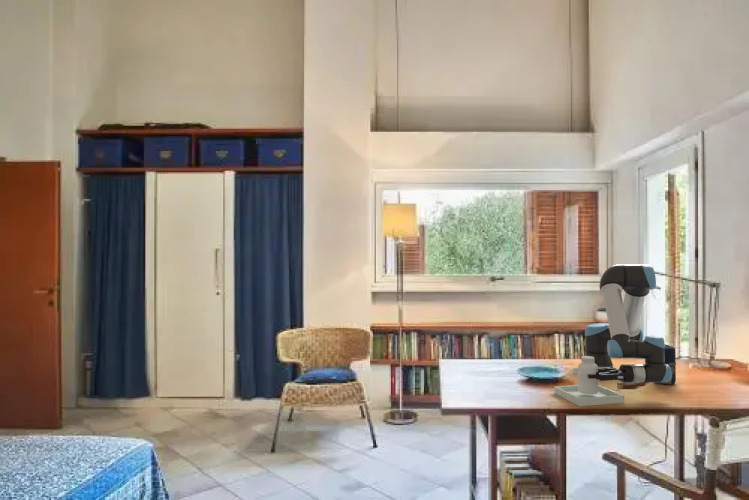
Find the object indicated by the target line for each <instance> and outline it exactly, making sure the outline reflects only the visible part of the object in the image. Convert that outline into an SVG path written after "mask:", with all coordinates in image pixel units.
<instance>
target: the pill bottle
mask: <svg viewBox="0 0 749 500" xmlns="http://www.w3.org/2000/svg"><path fill="white" fill-rule="evenodd" d="M580 361H581V362H579V363H578V365H577V368H578V374H577V385H578V391H579V392H580V393H583V394H597V393H598V385H599V380H597V379H579V372H595V373H596V371H597V372H598V366H597V365H596V364H595V363H594V362H595V360H594V357H592V356H585V355H582V356H581V357H580Z"/></svg>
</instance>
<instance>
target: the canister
mask: <svg viewBox="0 0 749 500" xmlns="http://www.w3.org/2000/svg"><path fill="white" fill-rule="evenodd" d="M665 364H667V365H669V366H670V368H671V372H672V378H671V380H670V381H669V382H663V383H661V385H662V384H664V385H673V384H675V383H676V381H677V372H676V365H677V359H676V347H674V346H672V345H669V344H665Z"/></svg>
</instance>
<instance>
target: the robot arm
mask: <svg viewBox="0 0 749 500" xmlns="http://www.w3.org/2000/svg"><path fill="white" fill-rule="evenodd" d="M656 287H657V277H656V272H655V269H654V267H653V266H652V265H651V264H643V263H642V264H614V265H612V266H610V267H608V268H607V269H606V270H605V271H604V272H603V273H602V275H601V277H600V281H599V292H600V294H601V295H602V296H603V301H604V307H605V312H606V319H607V322H604V323H603V322H598V323H591V324H588V325H586V326H585V328H584V329H585V330H584V336H585V338H584V341H585V342H584V347H585V348H584V349H585V351H584V352H585V353H584V356H592V357H594V360H595V362H594V363H595V364H596V365H597V366H598V372H597V371H596V373H595V372H579V379H597V380H598V382H599V381H600V382H603V381H606V382H607V381H621V382H622V383H628V384H629V383H636V384H638V385H639V384H640V383H652V384H653V383H656V384H657V383H658V384H662V383H663V382H669V381H670V380H671V378H672V372H671V368H670V366H669V365H667V364H665V339H664V337H662V336H660V335H653V334H652V335H646V336H644V333H643V329H642V328H641V327H640V325H639V323H640V317H641V314H642V309H643V306H644V301H645V297H646V296H648V295H649V294H650V291H653V290H655V289H656ZM623 292H624V298H623V297H622V293H623ZM643 338H644V339H643ZM611 358H615V359H643V360H644V362H645V363H643V364H641V363H637V364H636V363H634V364H633V363H632V364H630V363H629V364H628V363H627V364H625V363H623V364H620V365H619V368H617V367H614V364H613V362H612V361H613V360H612V359H611ZM572 374H573V375H578V367H573V368H572Z"/></svg>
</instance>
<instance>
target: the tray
mask: <svg viewBox="0 0 749 500" xmlns="http://www.w3.org/2000/svg"><path fill="white" fill-rule="evenodd" d="M553 387H554V389H553V390H554V394H555V395H556V396H559V397H561V398H563V399H565V400H567V401H569V402H570V403H573V404H574V405H577V406H578V407H587V406H588V407H590V406H601V405H602V406H603V405H612V404H613V405H614V404H624V403H625V395H624V394H621V393H619V392H617V391H614V390H612V389H610V388H607V387H604V386H602V385H599V384H598V393H597V394H583V393H580V392H579V391H578V384H573V385H560V386H559V385H558V386H553Z"/></svg>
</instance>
